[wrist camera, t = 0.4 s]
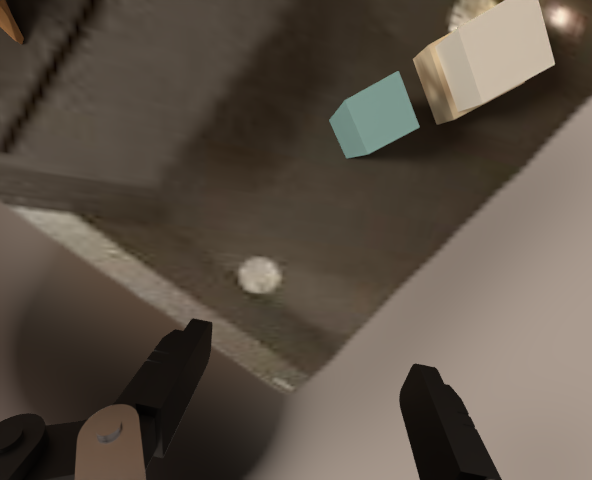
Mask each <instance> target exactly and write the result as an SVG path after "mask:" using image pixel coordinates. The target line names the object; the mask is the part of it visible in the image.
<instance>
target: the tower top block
mask: <svg viewBox="0 0 592 480" xmlns="http://www.w3.org/2000/svg"><path fill="white" fill-rule="evenodd" d="M435 49H436V52H437V55H438V57H439V60H440V63H441V66H442V69H443V71H444V74H445V77H446V80H447V83H448V86H449V88H450V91H451V94H452V97H453V100H454V102H455V105H456V108H457V111H458V112H460V111H463V110H466V109H469V108H472V107H475V106H478V105H481V104H483V103H485V102H487V101H489V100H491V99H492V98H494V97H496V96H498V95H500V94H502V93H503V92H505V91H507V90H509V89H511V88H513V87H515V86H516V85H518V84H520V83H522V82H524V81H526V80H527V79H529V78H531V77H533V76H535V75H537V74H538V73H540V72H542V71H544V70H546V69H548V68H549V67H551V66H553V65H555V62H554V58H553V54H552V50H551V47H550V43H549V39H548V35H547V31H546V27H545V24H544V20H543V16H542V12H541V8H540V4H539V1H538V0H505V1H503V2H501V3H499V4H498V5H496V6H494V7H493V8H491V9H489V10H487V11H486V12H484V13H482V14H480V15H479V16H477V17H475V18H474V19H472V20H470V21H468V22H467V23H465V24H463V25H461V26H460V27H458V28H457V29H455V30H454V31H453V32H452V33H451V34H450V35H448V36H447V37H446V38H445V39H444V40H442V41H441V42H440V43H439V44H438V45H436V46H435Z"/></svg>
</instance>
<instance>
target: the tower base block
mask: <svg viewBox="0 0 592 480" xmlns="http://www.w3.org/2000/svg"><path fill="white" fill-rule="evenodd" d="M451 33H452V32H451ZM451 33H449V34H447V35H446V36H444V37H442V38H440V39H439V40H437V41H435V42H433V43H431V44H430V45H428V46H427V47H426V48H425V49H424V50H422V51H421V52H420V53H419V54H418V55H417V56H416V57H415V58H414V59H413V61H414V64H415V67H416V69H417V72H418V75H419V78H420V80H421V83H422V86H423V89H424V91H425V94H426V97H427V100H428V102H429V105H430V108H431V111H432V113H433V116H434V119H435V121H436V124H437V125H438V124H442V123H445V122H448V121H452V120H455V119H457V118H458V117H460V116H462V115H464V114H466V113H468V112H470V111H472V110H474V109H476V108H477V107H479V106H481V105H483V104H485V103H487V102H489V101H491V100H493V99H495V98H496V97H498V96H500V95H502V94H504V93H506V92H508V91H510V90H512V89H514V88H516V87H517V86H519V85H521V84H523V83H525V81H524V82H522V83H520V84H518V85H516V86H515V87H513V88H511V89H509V90H507V91H505V92H503V93H502V94H500V95H498V96H496V97H494V98H492V99H491V100H489V101H487V102H485V103H483V104H481V105H478V106H475V107H472V108H469V109H466V110H463V111H460V112H458V111H457V108H456V105H455V102H454V100H453V97H452V94H451V91H450V88H449V86H448V83H447V80H446V77H445V74H444V71H443V69H442V66H441V63H440V60H439V57H438V55H437V52H436V49H435V46H436V45H438V44H439V43H440V42H441V41H442V40H444V39H445V38H446V37H447V36H448V35H450V34H451Z"/></svg>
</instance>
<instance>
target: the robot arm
mask: <svg viewBox="0 0 592 480" xmlns="http://www.w3.org/2000/svg"><path fill="white" fill-rule="evenodd" d="M211 339H212V322H208V321H203V320H198V319H192V320H191V321H190V322H189V324H188V325H187V327H186V328H185V330H184V331H181V330H173V331H172V332H171V333H169V334H168V335H166V336H165V337H164V338H162V340H161V341H160V342H159V344H158V345H157V346H156V348H155V349H154V352H152V353H151V355H150V356H149V357H148V358H147V361H146V362H144V364H143V365H142V367H141V368H140V369H139V371H138V372H137V373H136V375H135V376H134V377H133V379H132V380H131V382H130V383H129V384H128V385H127V387H126V388H125V390H124V391H123V392H122V394H121V395H120V396H119V398H118V399H117V400H116V402H114V403H113V404H112V405H111V406H108V407H106V408H103V409H102V410H100V411H98V412H97V413H95V414H94V415H93V416H91V417H90V418H89V419H87V420H83V421H78V422H71V423H63V424H55V425H48V426H46V425H45V422H44V420H43V419H42V418H41V417H40V416H38V415H36V414H20V415H16V416H13V417H10V418H8V419H5V420H3V421H1V422H0V480H146V475H145V470H146V468H147V466H148V464H149V462H150V460H151V458H152V456H155V457H161V458H163V457H164V455H165V453H166V450H167V448H168V446H169V444H170V442H171V440H172V438H173V436H174V434H175V431H176V429H177V427H178V425H179V423H180V421H181V419H182V417H183V415H184V413H185V410H186V408H187V406H188V404H189V402H190V400H191V398H192V396H193V394H194V391H195V389H196V387H197V385H198V383H199V381H200V379H201V377H202V375H203V373H204V370H205V368H206V366H207V364H208V360H209V357H210V352H211ZM399 401H400V408H401V412H402V416H403V419H404V422H405V427H406V430H407V433H408V437H409V441H410V444H411V448H412V452H413V456H414V460H415V463H416V467H417V470H418V474H419V478H420V480H502V479H501V477H500V475H499V473H498V471H497V469H496V467H495V465H494V463H493V461H492V459H491V457H490V455H489V454H488V451H487V449H486V448H485V446H484V443H483V441H482V440H481V437H480V435H479V433H478V432H477V430H476V429H475V426H474V424H473V421H472V419H471V417H469V416H468V411H467V409H466V407H465V405H464V404H463V402H462V400H461V398H460V397H459V396H458V395H457V393H456V392H455V391H454V390H453V389H452V388H451V387H450V385H446V384H444V383H443V380H442V378H441V376H440V374H439V372H438V370H437V369H436V368H435V367H430V366H425V365H419V364H413V366H412V367H411V369H410V372H409V373H408V376H407V378H406V380H405V382H404V384H403V386H402V388H401V391H400V399H399Z"/></svg>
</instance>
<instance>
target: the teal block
mask: <svg viewBox="0 0 592 480" xmlns="http://www.w3.org/2000/svg"><path fill="white" fill-rule="evenodd" d="M329 121H330V123H331V126H332V128H333V130H334V132H335V134H336V137H337V139H338V141H339V143H340V145H341V148H342V150H343V152H344V154H345V156H346V159H347V158H352V157H357V156H363V155H368V154H370V153H372V152H374V151H376V150H377V149H379V148H381V147H383V146H385V145H387V144H389V143H391V142H393V141H395V140H396V139H398V138H400V137H402V136H404V135H406V134H408V133H410V132H412V131H414V130H415V129H417V128H419V127H420V126H419V124H418V121H417V118H416V116H415V113H414V111H413V108H412V105H411V103H410V100H409V97H408V95H407V92H406V89H405V87H404V84H403V81H402V79H401V76H400V73H399V71H397V72H395V73H393V74H392V75H390V76H388V77H386V78H384V79H383V80H381V81H379V82H377V83H375V84H374V85H372V86H370V87H368V88H366V89H365V90H363V91H361V92H359V93H357V94H355V95H354V96H352V97H350V98H348V99H346V100H345V101H344V102H343V103H342V105H341V106H340V107H339V108H338V110H337V111H336V112H335V114H334V115H333V116H332V117H331V119H330V120H329Z"/></svg>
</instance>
